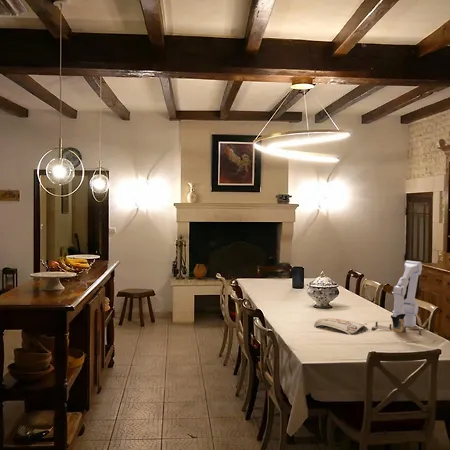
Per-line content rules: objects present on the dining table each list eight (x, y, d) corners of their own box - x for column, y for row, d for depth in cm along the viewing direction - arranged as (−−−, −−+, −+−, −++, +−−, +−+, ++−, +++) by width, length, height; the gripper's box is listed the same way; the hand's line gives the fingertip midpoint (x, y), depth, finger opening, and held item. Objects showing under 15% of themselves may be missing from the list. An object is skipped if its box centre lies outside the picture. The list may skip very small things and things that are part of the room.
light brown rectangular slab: (394, 328, 326) (395, 317, 326) (403, 330, 322) (404, 319, 322) (392, 329, 323) (392, 319, 322) (401, 331, 319) (402, 320, 319)
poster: (371, 332, 335) (329, 322, 354) (372, 323, 335) (330, 313, 354) (352, 337, 313) (309, 327, 332) (353, 327, 313) (310, 317, 332)
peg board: (377, 326, 336) (377, 320, 336) (424, 335, 318) (424, 328, 317) (371, 329, 328) (371, 322, 328) (419, 338, 310) (419, 331, 309)
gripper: (396, 302, 330) (395, 322, 331) (388, 305, 318) (387, 327, 319) (407, 303, 326) (406, 324, 326) (399, 307, 314) (398, 329, 315)
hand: (397, 326), depth 323 cm, fingers open, 7 cm apart
